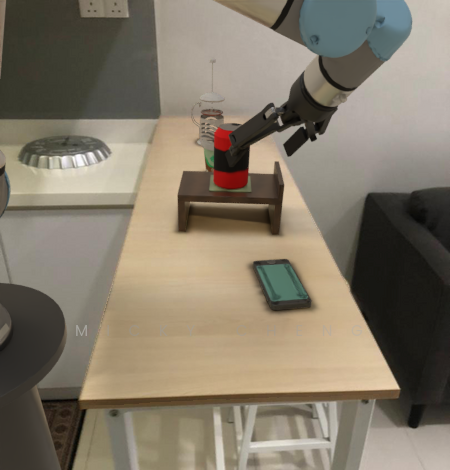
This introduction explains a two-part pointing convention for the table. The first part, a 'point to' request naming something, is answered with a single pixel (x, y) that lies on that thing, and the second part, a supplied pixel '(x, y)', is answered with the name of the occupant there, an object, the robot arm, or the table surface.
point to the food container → (208, 154)
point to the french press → (209, 113)
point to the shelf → (232, 193)
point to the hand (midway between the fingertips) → (258, 155)
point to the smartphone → (281, 284)
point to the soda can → (222, 170)
